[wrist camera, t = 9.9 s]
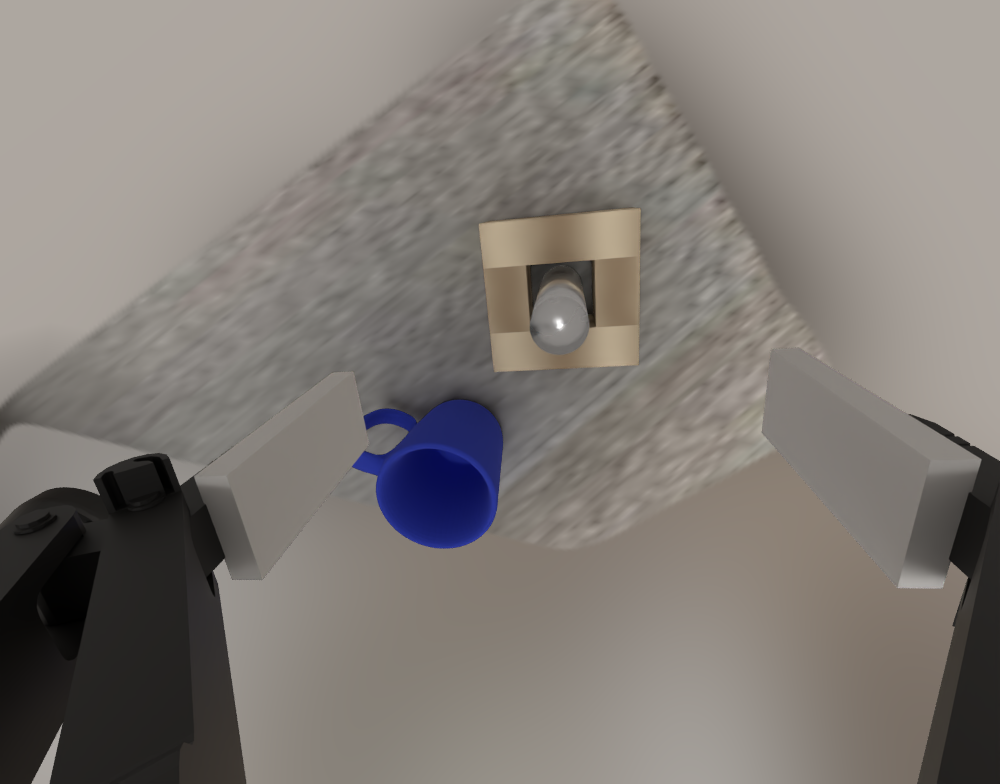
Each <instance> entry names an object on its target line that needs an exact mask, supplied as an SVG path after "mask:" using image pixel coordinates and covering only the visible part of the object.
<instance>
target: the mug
mask: <svg viewBox="0 0 1000 784" xmlns="http://www.w3.org/2000/svg"><path fill="white" fill-rule="evenodd" d="M363 417H364V422H365V426H366V430H367V429H369V428H370V427H373V426H375V425H378V424H385V423H387V424H394V425H397V426H400V427H402V428H404V429H406V430H408V431H409V433H408V434H407V435H406V437H405V438H404V439H403V440H402V441H401V442H400V443H399V444H398V445H397V446H396V447H395V448H394V449H392V450H391V451H390V452H388V453H386V454H383V455H375V454H372V453H369V452H366V451H364V452H363V453H362V454H361V456H360V457H359V458H358V459H357V461H356V462H355V463H354V464H353V466H352V467H353V468H356V469H358V470H361V471H363V472H367V473H370V474H374V475H377V476H378V478H377V483H376V495H377V500H378V504H379V507H380V509H381V511H382V513H383V515H384V516H385V518H386V519H387V521H388V522H389V523H390V524H391V525H392V526H393V527H394V529H395V530H397V531H398V532H399V533H400V534H402V535H403V536H405V537H406V538H408V539H410V540H412V541H414V542H416V543H418V544H421V545H424V546H428V547H433V548H456V547H461V546H464V545H467V544H469V543H471V542H473V541H475V540H477V539H478V538H479V537H481V536H482V535H483V534H484V533H485V532H486V531H487V530H488V528H489V527H490V526H491V524H492V522H493V520H494V518H495V515H496V511H497V504H498V493H499V482H500V472H501V461H502V450H503V437H502V432H501V428H500V426H499V424H498V422H497V420H496V418H495V417H494V416H493V415H492V413H491V412H490V411H489V410H487V409H486V408H485V407H483V406H481V405H480V404H478V403H475V402H472V401H468V400H451V401H447V402H444V403H442V404H440V405H438V406H436V407H435V408H433V409H432V410H431V411H430V412H429V413H428V414H427V415H426V416H425V417H424V418H423V419H422V420H421V421H420V422H419V423H418V424H417V422H416V420H415V419H414V418H413V417H412V416H410V415H409V414H407V413H405V412H402V411H399V410H395V409H379V410H375V411H373V412H371V413H369V414H367V415H365V416H363Z"/></svg>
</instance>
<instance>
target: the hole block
mask: <svg viewBox="0 0 1000 784" xmlns="http://www.w3.org/2000/svg"><path fill="white" fill-rule="evenodd" d="M640 217H641V208H622V209H612V210H601V211H591V212H580V213H570V214H560V215H549V216H539V217H529V218H518V219H508V220H497V221H488V222H484V223H480V224H479V232H480V241H481V251H482V261H483V270H484V280H485V290H486V299H487V309H488V319H489V328H490V338H491V347H492V357H493V367H494V372H505V371H525V370H546V369H567V368H588V367H609V366H629V365H639V305H640ZM586 260H592V299H593V314H589V315H588V318H589V333H588V336H587V338H586V340H585V341H584V343H583V344H582V345H581V346H580V347H579V348H578V349H577V350H575V351H573V352H571V353H568V354H564V355H554V354H550V353H547V352H545V351H543V350H542V349H540V348H539V347H538V346H537V345H536V343H535V342H534V341H533V339H532V336H531V333H530V319H531V316H532V312H533V297H532V282H531V268H530V265H537V264H549V263H561V262H574V261H586Z"/></svg>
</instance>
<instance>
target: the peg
mask: <svg viewBox="0 0 1000 784" xmlns="http://www.w3.org/2000/svg"><path fill="white" fill-rule="evenodd" d="M530 333H531V336H532V339H533V341H534V342H535V343H536V345H537V346H538V347H539V348H540V349H542V350H543V351H545V352H547V353H550V354H554V355H564V354H568V353H571V352H573V351H575V350H577V349H578V348H579V347H580V346H581V345H582V344H583V343H584V341H585V340H586V338H587V336H588V333H589V318H588V313H587V308H586V303H585V298H584V292H583V287H582V282H581V278H580V276H579V275H578V273H577V272H576V271H575V270H574V269H572V268H570V267H568V266H556V267H553V268H551V269H550V270H548V271H547V272H546V274H545V275H544V276H543V278H542V281H541V285H540V288H539V292H538V295H537V299H536V302H535V306H534V309H533V312H532V316H531V319H530Z"/></svg>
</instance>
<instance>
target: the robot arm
mask: <svg viewBox="0 0 1000 784" xmlns="http://www.w3.org/2000/svg"><path fill="white" fill-rule="evenodd" d="M762 433H763V435H764V436H765V437H766V438H767V439H768V440H769V441H770V443H771V444H772V445H773V446H774V447H775V448H776V449H777V451H778V452H779V453H780V454H781V455H782V456H783V457H784V459H785V460H786V461H787V462H788V463H789V464H790V466H791V467H792V468H793V469H794V470H795V471H796V472H797V473H798V475H799V476H800V477H801V478H802V479H803V480H804V481H805V483H806V484H807V485H808V486H809V487H810V488H811V489H812V491H813V492H814V493H815V494H816V495H817V496H818V498H819V499H820V500H821V501H822V502H823V503H824V504H825V506H826V507H827V508H828V509H829V510H830V511H831V513H832V514H833V515H834V516H835V517H836V518H837V519H838V521H840V523H841V524H842V525H843V526H844V527H845V528H846V530H847V531H848V532H849V533H850V534H851V535H852V537H853V538H854V539H855V540H856V541H857V542H858V543H859V545H860V546H861V547H862V548H863V549H864V550H865V552H866V553H867V554H868V555H869V556H870V557H871V558H872V560H873V561H874V562H875V563H876V564H877V565H878V566H879V567H880V569H881V570H882V571H883V572H884V573H885V574H886V576H887V577H888V578H889V579H890V580H891V581H892V582H893V584H894V585H895V586H896V587H897V588H941V589H942V588H943V585H944V582H945V578H946V575H947V572H948V568H949V565H950V562H952V563H953V564H954V565H956V566H957V567H958V568H959V569H960V570H961V571H962V572H963V573H964V574H965V575H967V576H968V579H967V582H966V585H965V589H964V592H963V595H962V598H961V601H960V604H959V607H958V610H957V613H956V616H955V619H954V622H953V626H954V627H955V628H954V632H953V637H952V641H951V645H950V649H949V653H948V657H947V662H946V666H945V670H944V674H943V678H942V682H941V687H940V691H939V695H938V699H937V703H936V707H935V712H934V716H933V720H932V724H931V729H930V732H929V737H928V741H927V745H926V749H925V753H924V757H923V762H922V766H921V770H920V774H919V778H918V782H917V784H1000V461H999V460H997V459H995V458H994V457H992V456H990V455H989V454H987V453H985V452H984V451H982V450H980V449H979V448H977V447H975V446H970V443H968V442H967V441H965V440H963V439H962V438H960V437H958V436H957V437H955V436H954V434H953V433H951V432H950V431H948V430H946V429H945V428H943V427H941V426H940V425H938V424H936V423H934V422H931V421H928V420H925V419H922V418H920V417H917V416H914V415H911V414H907V413H905V412H903V411H902V410H900V409H898V408H897V407H895V406H894V405H892V404H890V403H889V402H887V401H885V400H884V399H882V398H881V397H879V396H877V395H876V394H874V393H872V392H871V391H869V390H867V389H866V388H864V387H862V386H861V385H859V384H858V383H856V382H854V381H853V380H851V379H849V378H848V377H846V376H845V375H843V374H841V373H840V372H838V371H836V370H835V369H833V368H832V367H830V366H828V365H827V364H825V363H823V362H822V361H820V360H818V359H817V358H815V357H814V356H812V355H810V354H809V353H807V352H805V351H804V350H802V349H800V348H781V349H771V354H770V363H769V372H768V381H767V390H766V398H765V407H764V416H763V425H762ZM368 445H369V440H368V436H367V431H366V426H365V422H364V417H363V412H362V408H361V403H360V398H359V394H358V389H357V384H356V380H355V375H354V371H351V372H332V373H331V374H330V375H328V376H327V377H326V378H324V379H323V380H322V381H320V382H319V383H318V384H316V385H315V386H314V387H312V388H311V389H310V390H308V391H307V392H306V393H304V394H303V395H302V396H300V397H299V398H298V399H296V400H295V401H294V402H292V403H291V404H290V405H288V406H287V407H286V408H284V409H283V410H282V411H280V412H279V413H278V414H276V415H275V416H274V417H272V418H271V419H270V420H268V421H267V422H266V423H264V424H263V425H262V426H260V427H259V428H258V429H256V430H255V431H254V432H252V433H251V434H250V435H248V436H247V437H246V438H244V439H243V440H242V441H240V442H239V443H238V444H236V445H235V446H233V447H232V448H230V449H229V450H228V451H226V452H225V453H224V454H222V455H221V456H220V457H219V458H217V459H215V460H214V461H213V462H211V463H210V464H209V465H208V466H207V467H205V468H204V469H202V470H201V471H199V472H198V473H197V474H195V475H194V476H193V477H191V478H190V479H189V480H188V481H186V482H185V483H183V484H182V485H181V486H180V485H179V482H178V479H177V477H176V474H175V472H174V469H173V467H172V464H171V461H170V459H169V457H168V456H167V455H166V454H160V453H157V454H147V455H142V456H138V457H134V458H131V459H128V460H125V461H122V462H119V463H117V464H115V465H113V466H110V467H108V468H106V469H105V470H103V471H102V472H100V473H99V474H98V475H97V476H96V477H95V478H94V483H95V485H96V487H97V489H98V491H99V494H100V495H97V494H95V493H92V492H89V491H86V490H81V489H77V488H67V487H66V488H65V487H63V488H54V489H50V490H47V491H44V492H42V493H41V494H39V495H37V496H35V497H34V498H32V499H30V500H28V501H26V502H25V503H23V504H21V505H20V506H19V507H18V508H16V509H15V510H14V511H13V512H12V513H11V514H10V515H9V516H8V517H7V518H6V519H5V520H4V521H3V522H2V523H1V524H0V784H31V783H32V781H33V779H34V777H35V775H36V773H37V771H38V769H39V767H40V765H41V764H42V762H43V760H44V758H45V755H46V754H47V752H48V750H49V748H50V746H51V744H52V742H53V740H54V738H55V736H56V734H57V732H58V731H59V728H60V727H61V725H62V723H63V725H62V729H61V734H60V738H59V743H58V747H57V752H56V757H55V761H54V766H53V770H52V775H51V780H50V784H246V778H245V771H244V764H243V757H242V750H241V743H240V735H239V728H238V721H237V714H236V707H235V701H234V694H233V686H232V679H231V673H230V665H229V658H228V651H227V644H226V637H225V630H224V623H223V616H222V609H221V602H220V595H219V588H218V583H217V580H216V578H215V575H214V572H213V570H214V569H215V568H216V567H217V566H218V565H219V564H220V563H221V562H222V561H223V559H225V562H226V564H227V567H228V570H229V572H230V575H231V578H232V580H263V579H264V578H265V576H266V575H267V574H268V573H269V571H270V570H271V569H272V567H273V566H274V565H275V564H276V562H277V561H278V560H279V559H280V557H281V556H282V555H283V553H284V552H285V551H286V549H287V548H288V547H289V546H290V545H291V543H292V542H293V541H294V539H295V538H296V537H297V536H298V534H299V533H300V532H301V531H302V529H303V528H304V527H305V525H306V524H307V523H308V522H309V520H310V519H311V518H312V516H313V515H314V514H315V513H316V511H317V510H318V509H319V508H320V506H321V505H322V504H323V503H324V501H325V500H326V499H327V498H328V496H329V495H330V494H331V492H332V491H333V490H334V489H335V487H336V486H337V485H338V484H339V482H340V481H341V480H342V478H343V477H344V476H345V475H346V473H347V472H348V471H349V470H350V468H351V467H352V466H353V464H354V463H355V462H356V461H357V459H358V458H359V457H360V456H361V454H362V453H363V452H364V450H365V449H366V448H367V447H368Z"/></svg>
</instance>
